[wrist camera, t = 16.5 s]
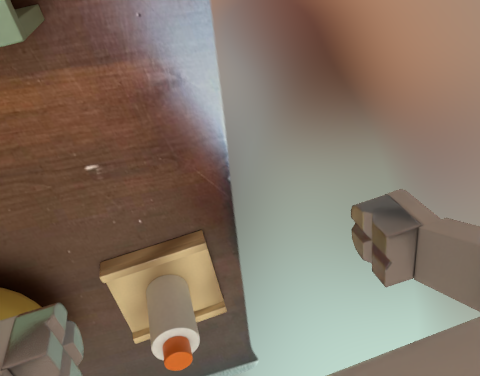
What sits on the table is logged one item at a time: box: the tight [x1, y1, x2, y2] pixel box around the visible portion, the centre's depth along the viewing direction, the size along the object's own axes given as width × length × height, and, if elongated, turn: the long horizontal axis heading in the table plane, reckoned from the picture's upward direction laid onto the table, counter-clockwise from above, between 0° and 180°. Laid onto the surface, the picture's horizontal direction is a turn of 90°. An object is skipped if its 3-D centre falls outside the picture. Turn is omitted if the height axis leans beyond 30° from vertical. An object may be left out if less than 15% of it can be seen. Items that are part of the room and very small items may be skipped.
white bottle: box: [146, 275, 200, 371], centre depth 43 cm, size 5×5×10 cm
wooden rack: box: [100, 230, 227, 344], centre depth 48 cm, size 12×12×2 cm
